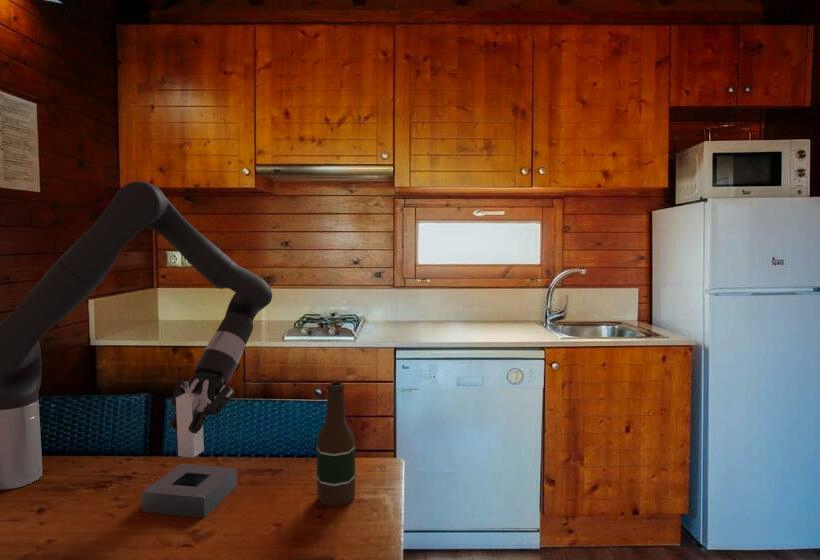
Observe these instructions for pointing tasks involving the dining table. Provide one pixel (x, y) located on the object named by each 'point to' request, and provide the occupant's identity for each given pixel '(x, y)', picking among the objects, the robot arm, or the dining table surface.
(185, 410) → the white rectangular block
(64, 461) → the dining table surface
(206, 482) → the collar block
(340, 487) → the beer bottle
